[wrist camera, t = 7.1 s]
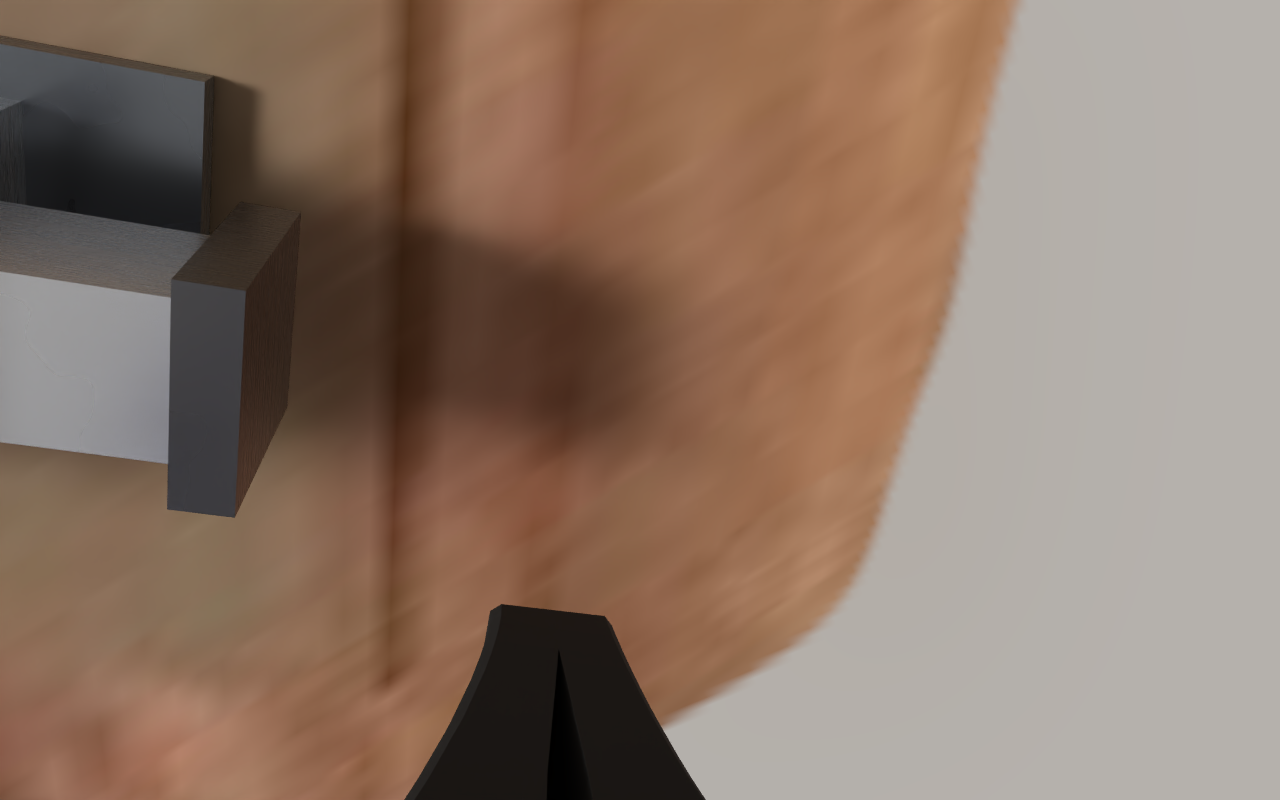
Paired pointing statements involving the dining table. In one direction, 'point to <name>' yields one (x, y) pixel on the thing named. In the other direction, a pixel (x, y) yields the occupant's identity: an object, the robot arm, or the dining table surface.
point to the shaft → (149, 342)
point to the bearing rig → (105, 136)
